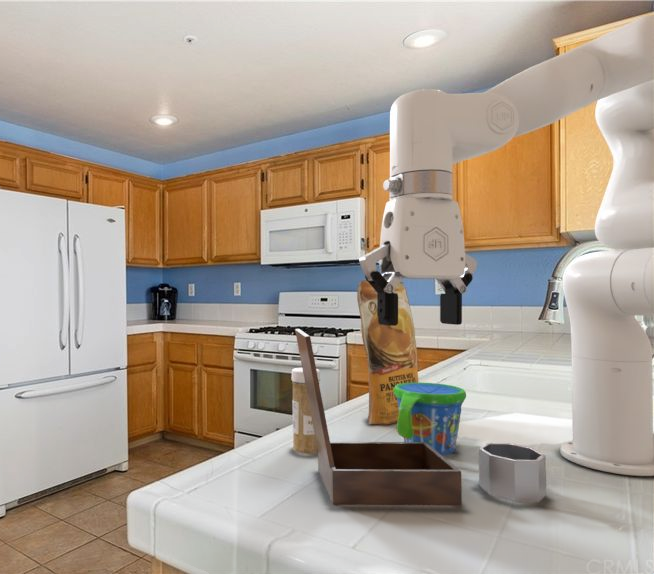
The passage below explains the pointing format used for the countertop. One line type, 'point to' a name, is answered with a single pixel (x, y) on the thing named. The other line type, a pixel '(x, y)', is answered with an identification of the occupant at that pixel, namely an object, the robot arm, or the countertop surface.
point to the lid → (314, 395)
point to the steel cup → (512, 472)
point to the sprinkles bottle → (302, 415)
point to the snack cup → (430, 414)
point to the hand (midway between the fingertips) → (420, 324)
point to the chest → (389, 474)
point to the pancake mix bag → (387, 353)
